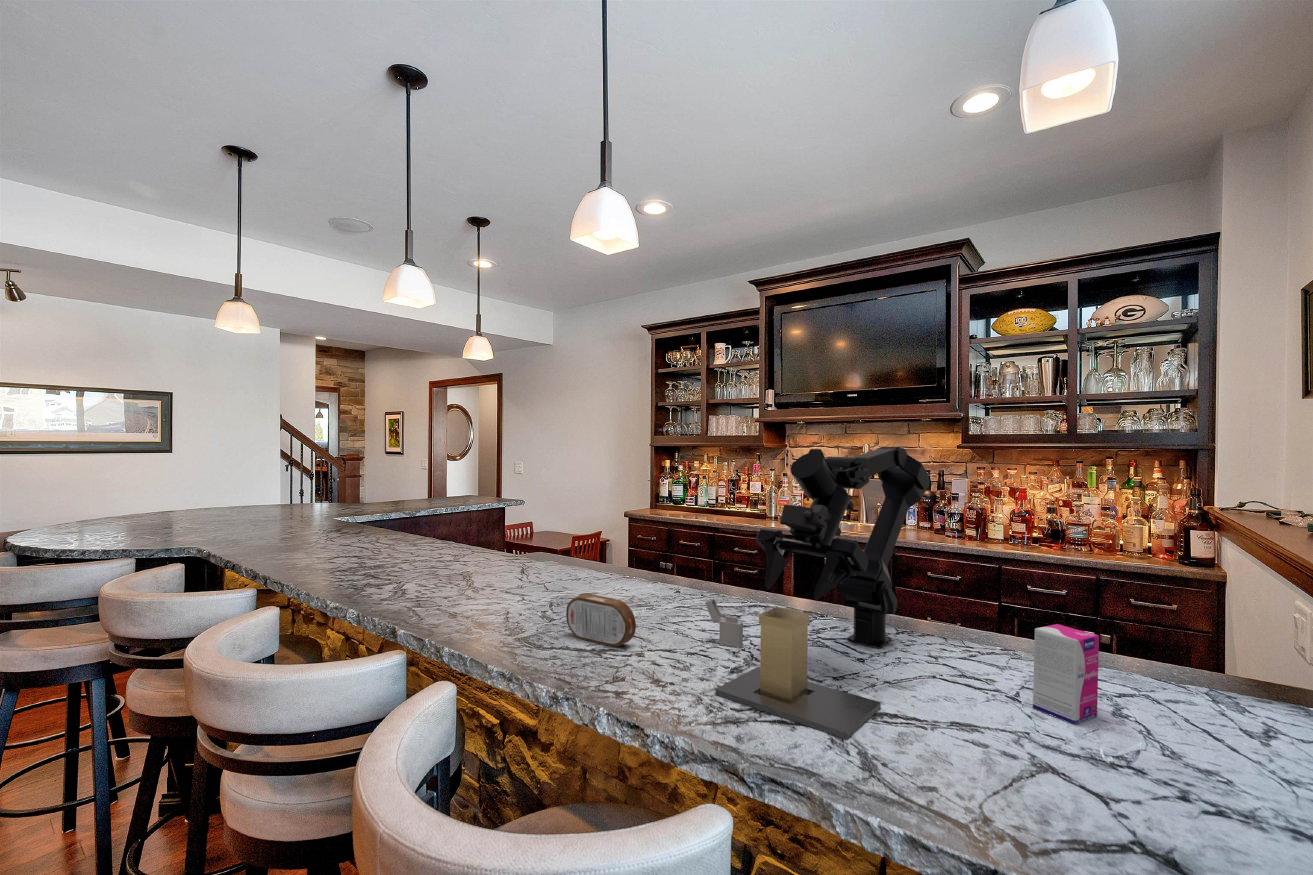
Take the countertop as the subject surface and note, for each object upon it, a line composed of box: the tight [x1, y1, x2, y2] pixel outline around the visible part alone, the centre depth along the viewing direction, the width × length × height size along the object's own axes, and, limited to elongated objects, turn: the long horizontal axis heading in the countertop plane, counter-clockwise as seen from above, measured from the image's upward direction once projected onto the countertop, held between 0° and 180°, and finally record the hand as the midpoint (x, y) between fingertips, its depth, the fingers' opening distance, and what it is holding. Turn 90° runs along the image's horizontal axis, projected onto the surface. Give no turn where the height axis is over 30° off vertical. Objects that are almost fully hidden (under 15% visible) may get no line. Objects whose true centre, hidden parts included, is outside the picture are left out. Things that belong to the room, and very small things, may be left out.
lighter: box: [704, 598, 744, 649], centre depth 109 cm, size 7×2×8 cm, turn 61°
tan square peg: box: [758, 606, 811, 706], centre depth 86 cm, size 5×5×12 cm
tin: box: [565, 592, 637, 648], centre depth 110 cm, size 15×3×8 cm, turn 58°
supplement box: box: [1031, 623, 1100, 725], centre depth 82 cm, size 6×6×12 cm
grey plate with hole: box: [715, 666, 882, 740], centre depth 84 cm, size 12×20×1 cm, turn 50°
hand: (790, 592), depth 94 cm, fingers open, 9 cm apart
